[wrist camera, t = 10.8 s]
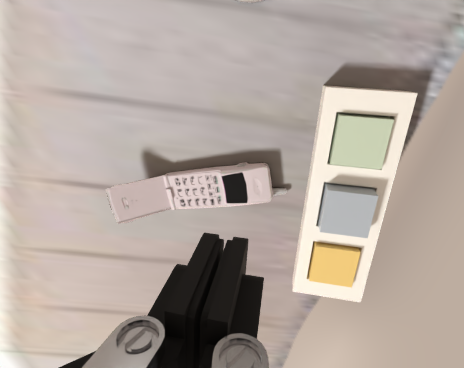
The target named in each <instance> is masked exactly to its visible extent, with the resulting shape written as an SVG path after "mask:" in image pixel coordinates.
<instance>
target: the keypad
mask: <svg viewBox="0 0 464 368" xmlns="http://www.w3.org/2000/svg"><path fill="white" fill-rule="evenodd" d="M417 94H418V93H414V92H410V91H399V90H384V89H369V88H354V87H339V86H324V85H323V89H322V96H321V102H320V108H319V115H318V121H317V127H316V134H315V140H314V146H313V153H312V159H311V165H310V171H309V178H308V184H307V190H306V197H305V203H304V209H303V216H302V222H301V228H300V234H299V241H298V247H297V253H296V260H295V266H294V272H293V279H292V281H293V292H300V293H306V294H312V295H318V296H324V297H331V298H337V299H343V300H349V301H355V302H361V299H362V295H363V291H364V288H365V284H366V281H367V277H368V273H369V270H370V266H371V262H372V259H373V255H374V251H375V248H376V244H377V240H378V237H379V233H380V229H381V226H382V222H383V218H384V214H385V211H386V207H387V204H388V200H389V196H390V193H391V189H392V185H393V182H394V178H395V174H396V171H397V167H398V163H399V160H400V156H401V152H402V149H403V145H404V141H405V138H406V134H407V130H408V127H409V123H410V119H411V116H412V112H413V108H414V105H415V101H416V97H417ZM337 112H338V113H350V114H363V115H376V116H388V117H390V118H391V119H393V120H394V122H393V126H392V130H391V134H390V138H389V142H388V146H387V150H386V154H385V158H384V162H383V166H382V169H372V168H362V167H352V166H343V165H333V164H330V161H329V159H328V158H329V152H330V147H331V141H332V135H333V130H334V124H335V119H336V113H337ZM325 183H330V184H339V185H348V186H357V187H366V188H373V189H374V190H375V192H376V193H377V195H378V200H377V204H376V208H375V211H374V215H373V219H372V223H371V227H370V231H369V235H368V238H361V237H353V236H346V235H338V234H331V233H323V232H320V230H319V224H318V221H319V216H320V211H321V205H322V200H323V194H324V189H325ZM313 241H316V242H323V243H330V244H338V245H345V246H352V247H359V250H360V252H361V253H360V257H359V261H358V265H357V269H356V273H355V276H354V280H353V284H352V288H351V287H345V286H338V285H332V284H325V283H319V282H313V281H309V274H308V269H309V263H310V258H311V252H312V246H313Z"/></svg>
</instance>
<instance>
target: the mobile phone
mask: <svg viewBox="0 0 464 368" xmlns="http://www.w3.org/2000/svg"><path fill="white" fill-rule="evenodd" d="M106 193H107V197H108V200H109V203H110V207H111V210H112V212H113V214H114V217H115V219H116V221H117V223H118V224H120V223H127V222H131V221H133V220H135V219H139V218H142V217H145V216H149V215H152V214H155V213H159V212H162V211H165V209H166V210H169V208H170V209H172V210H175V209H189V208H211V207H226V206H227V207H228V206H239V205H250V204H258V203H267V202H270V201H271V199H272V197H273V196H276V195H282V194H287V190H286V188H272V183H271V176H270V168H269V166H268V164H266V163H255V164H248V163H247V162H243V163H239V164H238V165H232V166H221V167H212V168H202V169H194V170H186V171H178V172H170V173H167V174H165V175H162V176H158V177H153V178H149V179H144V180H140V181H136V182H131V183H127V184H123V185H122V184H119V185H115V186H113V187H112V188H108V189H106Z"/></svg>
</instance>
